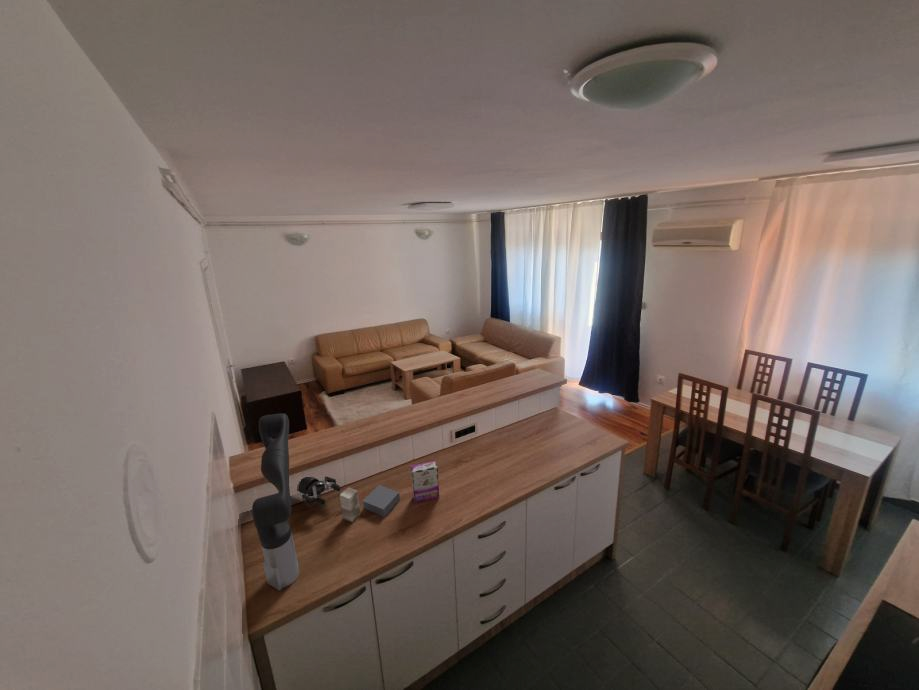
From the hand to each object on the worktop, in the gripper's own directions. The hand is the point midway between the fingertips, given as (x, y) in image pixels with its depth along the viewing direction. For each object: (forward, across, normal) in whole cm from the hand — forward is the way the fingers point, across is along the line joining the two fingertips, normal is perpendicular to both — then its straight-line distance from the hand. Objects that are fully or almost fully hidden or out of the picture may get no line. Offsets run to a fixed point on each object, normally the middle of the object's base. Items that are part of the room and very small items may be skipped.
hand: (332, 495), depth 153 cm
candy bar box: (+32, +23, +7) cm, 40 cm away
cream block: (+10, 0, +7) cm, 12 cm away
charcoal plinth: (+17, +11, +7) cm, 21 cm away
